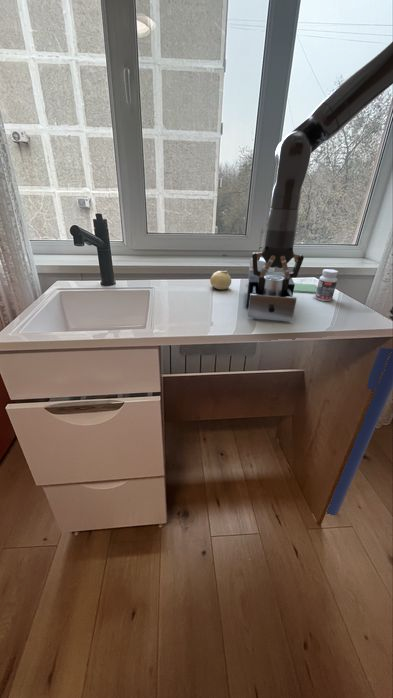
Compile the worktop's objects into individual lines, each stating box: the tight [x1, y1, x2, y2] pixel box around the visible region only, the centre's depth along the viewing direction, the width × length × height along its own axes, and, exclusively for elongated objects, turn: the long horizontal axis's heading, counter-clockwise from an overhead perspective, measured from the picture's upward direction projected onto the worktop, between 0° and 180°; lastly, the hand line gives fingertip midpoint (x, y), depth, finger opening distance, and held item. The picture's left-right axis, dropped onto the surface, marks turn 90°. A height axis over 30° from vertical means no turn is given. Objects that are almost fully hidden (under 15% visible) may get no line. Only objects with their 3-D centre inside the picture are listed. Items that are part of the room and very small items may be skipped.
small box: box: [247, 256, 276, 280], centre depth 110 cm, size 8×6×10 cm
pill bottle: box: [314, 268, 339, 302], centre depth 99 cm, size 6×6×10 cm
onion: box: [209, 269, 232, 291], centre depth 108 cm, size 8×8×7 cm
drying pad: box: [293, 282, 317, 294], centre depth 111 cm, size 10×10×1 cm
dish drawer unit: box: [245, 269, 295, 309], centre depth 95 cm, size 15×14×9 cm
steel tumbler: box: [262, 275, 284, 296], centre depth 83 cm, size 6×6×8 cm
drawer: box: [247, 284, 298, 322], centre depth 85 cm, size 15×12×7 cm
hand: (272, 290), depth 83 cm, fingers closed on steel tumbler, 5 cm apart
